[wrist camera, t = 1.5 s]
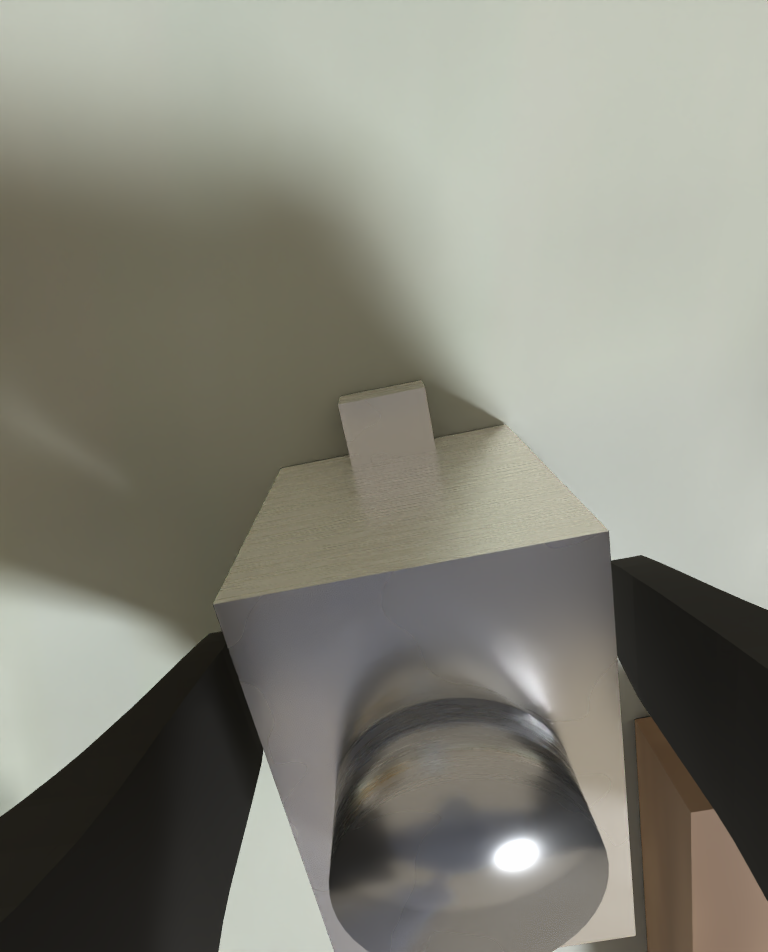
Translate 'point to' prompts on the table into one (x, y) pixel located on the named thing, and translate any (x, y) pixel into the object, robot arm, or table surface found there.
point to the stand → (691, 861)
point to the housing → (438, 688)
